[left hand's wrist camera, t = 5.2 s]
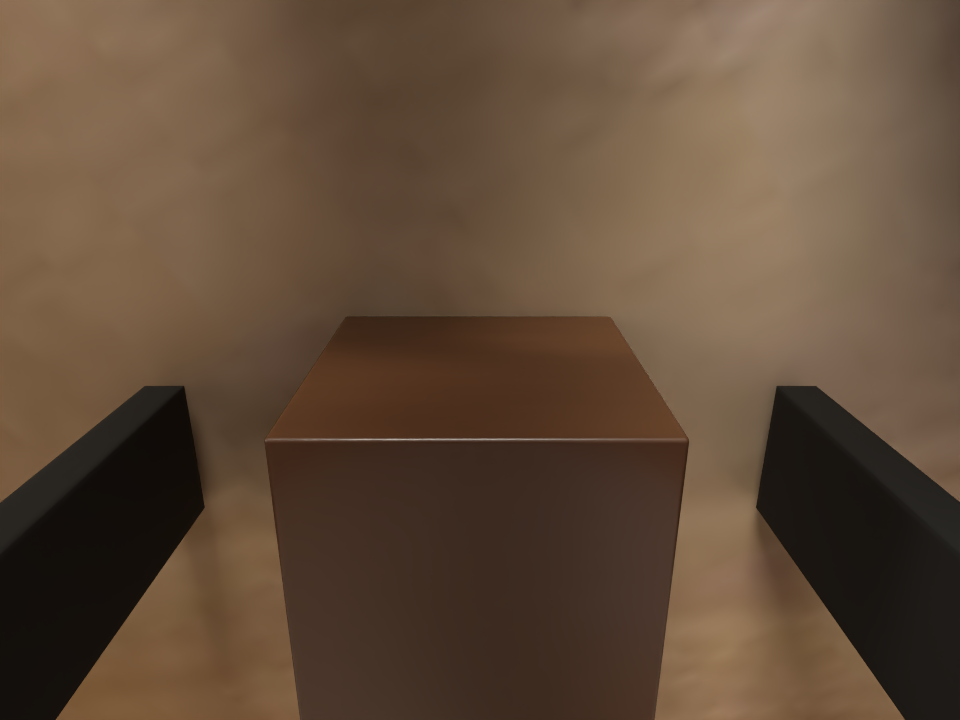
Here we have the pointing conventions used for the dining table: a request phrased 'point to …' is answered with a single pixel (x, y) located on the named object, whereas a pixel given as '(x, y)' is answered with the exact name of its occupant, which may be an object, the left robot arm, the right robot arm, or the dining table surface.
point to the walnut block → (477, 521)
